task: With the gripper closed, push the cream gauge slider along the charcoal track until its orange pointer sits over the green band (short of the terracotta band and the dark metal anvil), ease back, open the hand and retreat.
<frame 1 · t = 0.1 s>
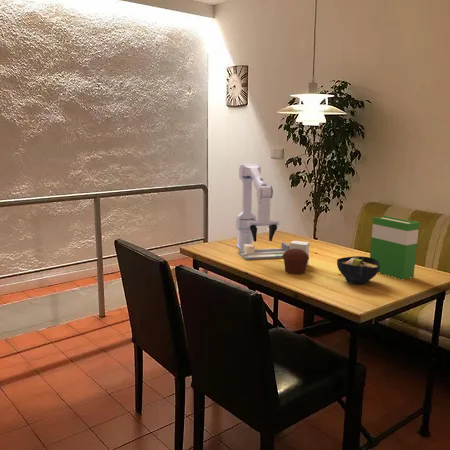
hand: (262, 240, 222), 10 cm above the table, fingers open, 7 cm apart
small box: (298, 265, 220), on the table
gauge board: (265, 255, 235), on the table
muffin: (294, 272, 209), on the table
hardback book: (390, 273, 210), on the table
gauge slider: (249, 249, 232), point 3 cm above the table, slide at 0.0 cm
bowl: (356, 282, 197), on the table
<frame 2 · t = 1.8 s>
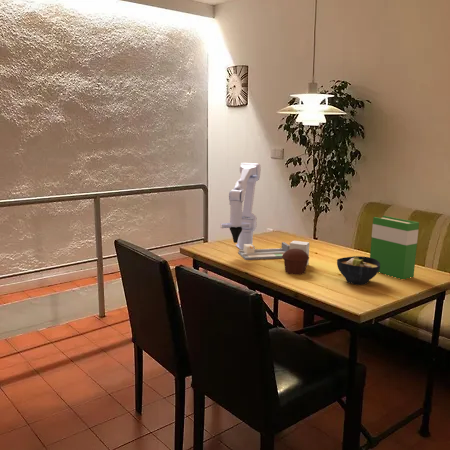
hand: (235, 242, 231), 7 cm above the table, fingers closed
nothing on the table moved.
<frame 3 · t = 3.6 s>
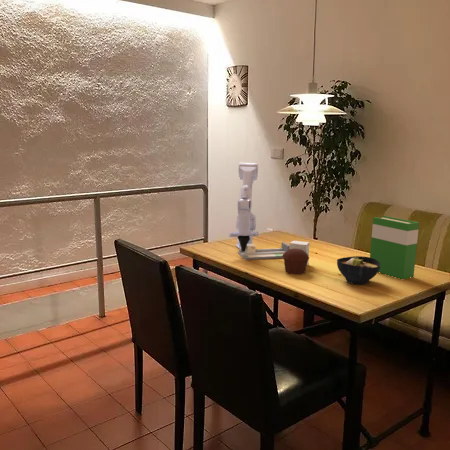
hand: (243, 250, 233), 2 cm above the table, fingers closed
gauge slider: (250, 249, 233), point 3 cm above the table, slide at 0.5 cm, touching gripper
everything else where it was.
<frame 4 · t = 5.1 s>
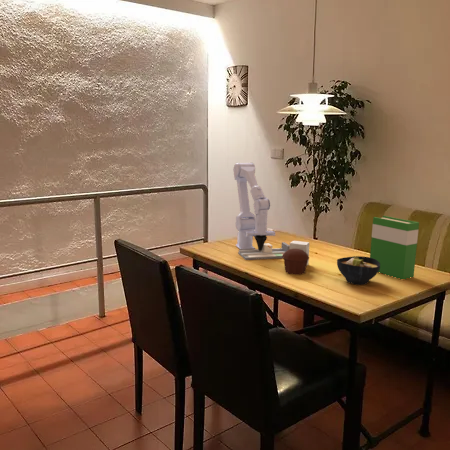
hand: (260, 250, 235), 2 cm above the table, fingers closed
gauge slider: (267, 249, 235), point 3 cm above the table, slide at 9.2 cm, touching gripper
everything else where it was.
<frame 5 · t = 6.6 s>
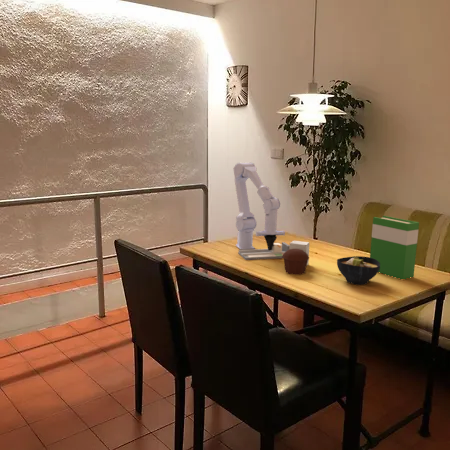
hand: (269, 249, 237), 2 cm above the table, fingers closed
gauge slider: (277, 248, 236), point 3 cm above the table, slide at 14.2 cm, touching gripper
everything else where it was.
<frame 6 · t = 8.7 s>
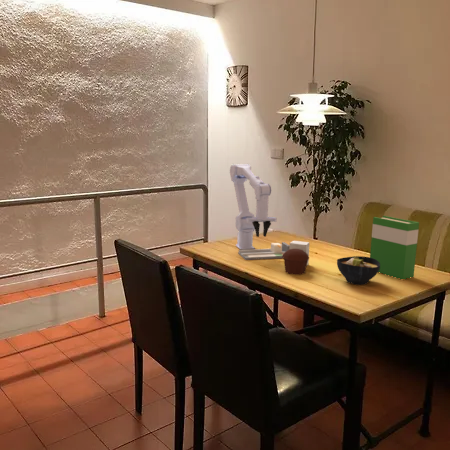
hand: (261, 236, 234), 9 cm above the table, fingers open, 3 cm apart
gauge slider: (277, 248, 236), point 3 cm above the table, slide at 14.2 cm
everything else where it was.
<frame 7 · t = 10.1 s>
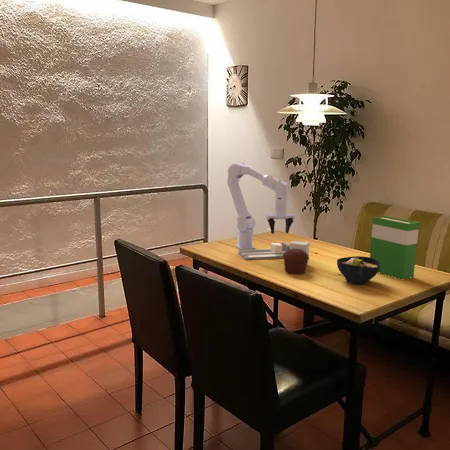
hand: (279, 233, 240), 10 cm above the table, fingers open, 7 cm apart
nothing on the table moved.
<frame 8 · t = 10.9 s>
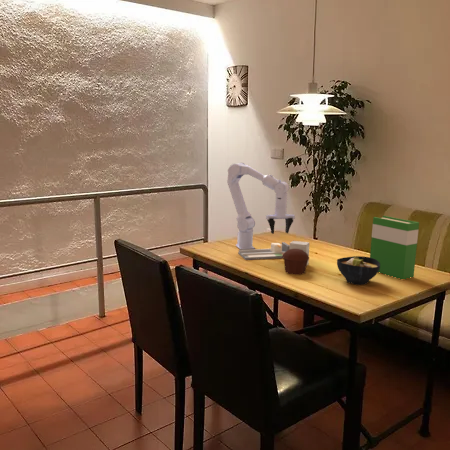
hand: (279, 233, 240), 10 cm above the table, fingers open, 7 cm apart
nothing on the table moved.
at the end: gauge slider slide at 14.2 cm; the gripper is holding nothing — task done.
